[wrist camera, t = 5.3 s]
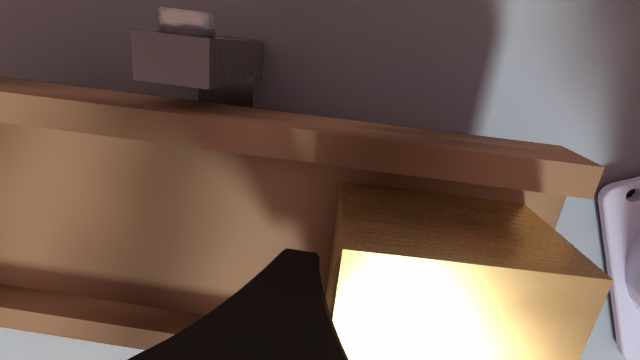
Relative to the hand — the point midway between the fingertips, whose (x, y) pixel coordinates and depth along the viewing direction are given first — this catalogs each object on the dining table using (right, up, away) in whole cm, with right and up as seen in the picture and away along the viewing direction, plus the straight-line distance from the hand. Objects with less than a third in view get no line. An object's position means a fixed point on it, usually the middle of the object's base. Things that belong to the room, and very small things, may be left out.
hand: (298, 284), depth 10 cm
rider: (+3, 0, +1) cm, 4 cm away
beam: (-4, +1, +2) cm, 4 cm away
